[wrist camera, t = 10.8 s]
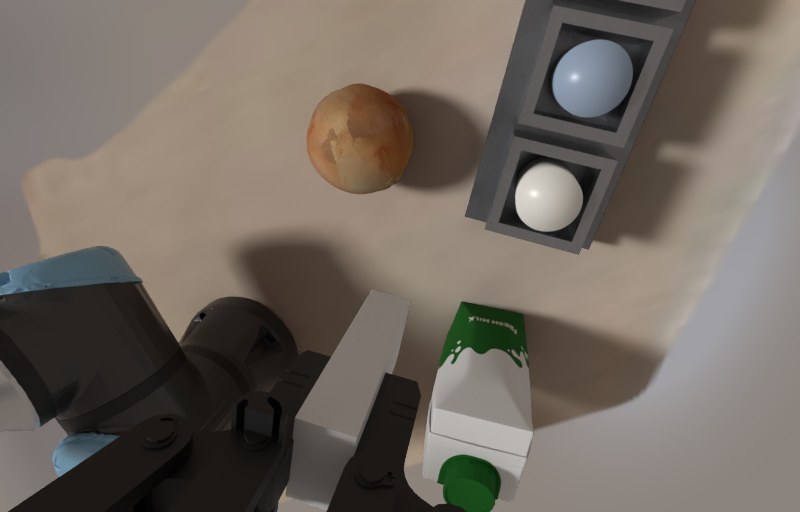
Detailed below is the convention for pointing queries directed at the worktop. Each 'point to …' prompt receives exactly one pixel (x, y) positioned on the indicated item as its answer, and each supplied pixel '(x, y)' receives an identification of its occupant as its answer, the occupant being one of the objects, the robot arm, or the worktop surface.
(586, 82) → the slate button
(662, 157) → the worktop surface
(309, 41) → the worktop surface
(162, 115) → the worktop surface
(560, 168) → the cream button
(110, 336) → the robot arm
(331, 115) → the onion
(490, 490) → the milk carton
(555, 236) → the grey frame
